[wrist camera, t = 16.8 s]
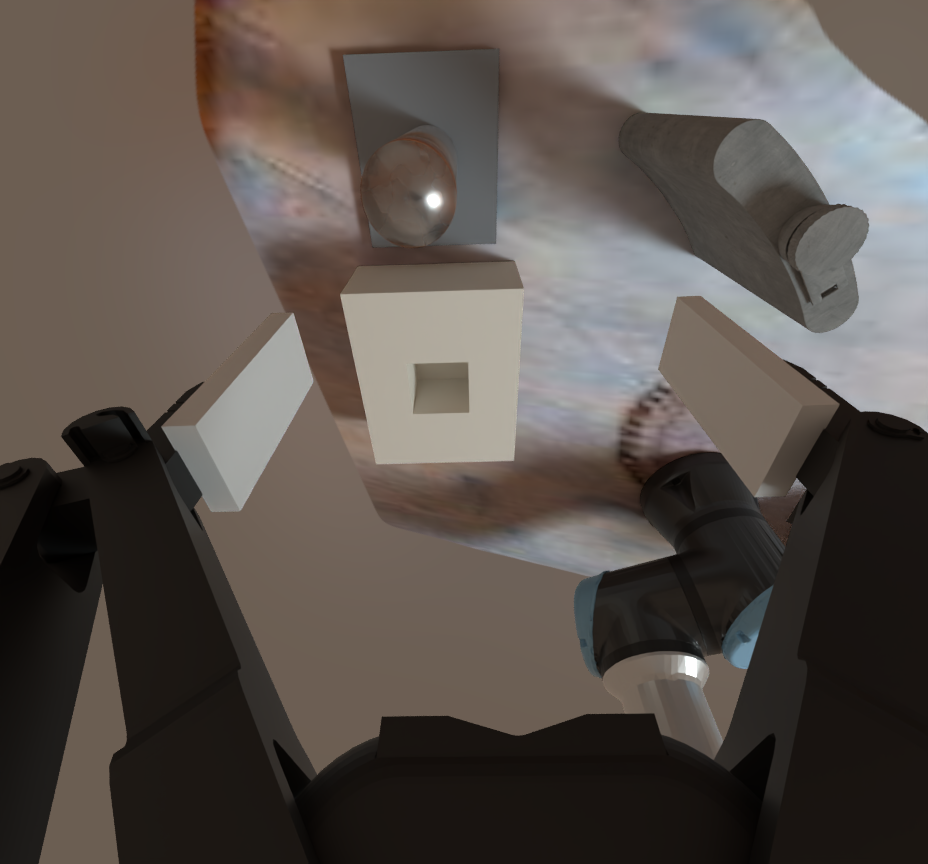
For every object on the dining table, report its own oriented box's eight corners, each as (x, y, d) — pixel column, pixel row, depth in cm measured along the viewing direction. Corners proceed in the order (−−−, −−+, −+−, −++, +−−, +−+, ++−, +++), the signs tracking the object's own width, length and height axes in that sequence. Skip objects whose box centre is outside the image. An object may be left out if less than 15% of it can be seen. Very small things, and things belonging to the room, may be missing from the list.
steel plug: (458, 192, 38) (458, 246, 24) (403, 194, 38) (369, 249, 24) (456, 123, 35) (454, 137, 21) (395, 125, 35) (352, 141, 21)
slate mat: (495, 240, 42) (496, 243, 41) (374, 244, 42) (372, 247, 41) (498, 49, 33) (499, 48, 32) (345, 56, 33) (342, 54, 32)
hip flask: (611, 136, 36) (724, 163, 21) (652, 92, 35) (811, 84, 19) (702, 265, 43) (841, 359, 27) (741, 233, 41) (913, 315, 26)
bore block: (507, 419, 55) (514, 460, 49) (386, 423, 55) (376, 464, 49) (514, 261, 43) (524, 288, 37) (357, 266, 43) (340, 294, 37)
